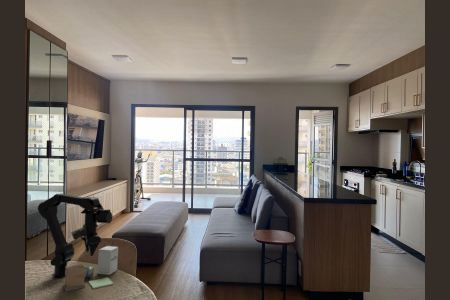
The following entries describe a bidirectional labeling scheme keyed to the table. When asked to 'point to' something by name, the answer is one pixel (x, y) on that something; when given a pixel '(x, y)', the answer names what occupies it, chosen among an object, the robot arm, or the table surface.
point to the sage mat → (100, 283)
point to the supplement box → (107, 260)
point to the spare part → (89, 272)
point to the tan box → (74, 277)
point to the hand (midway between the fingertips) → (89, 253)
